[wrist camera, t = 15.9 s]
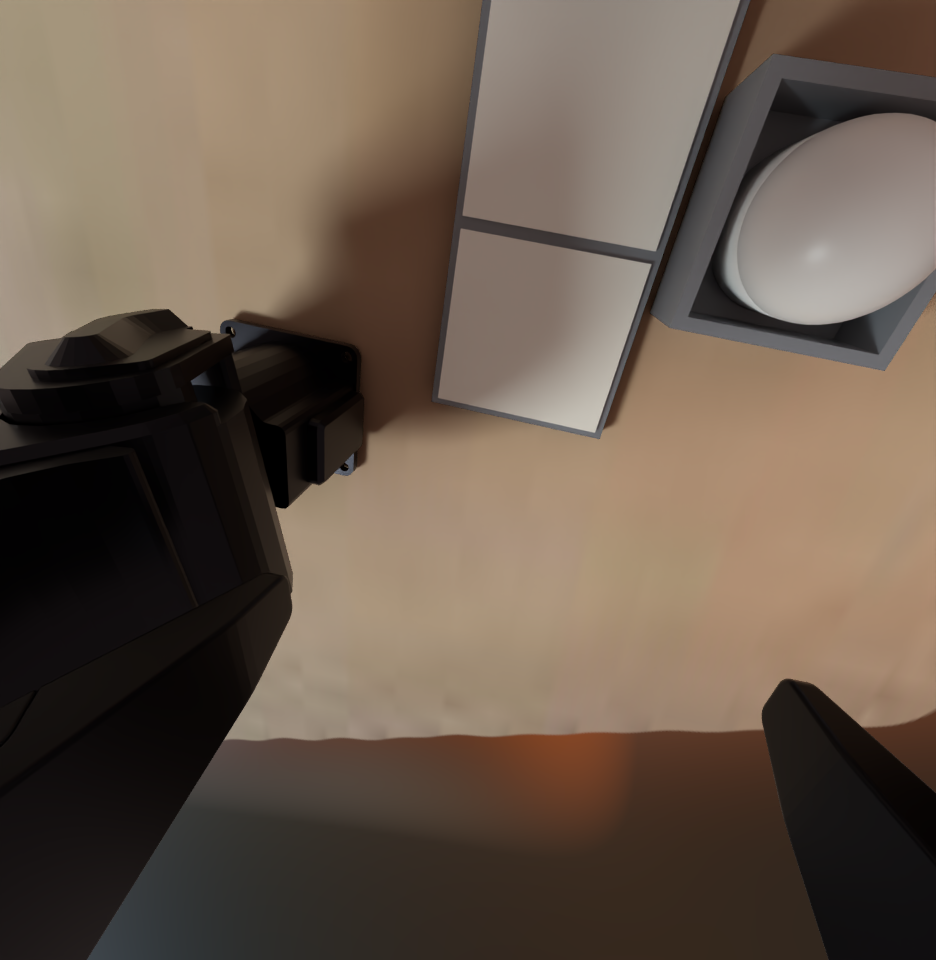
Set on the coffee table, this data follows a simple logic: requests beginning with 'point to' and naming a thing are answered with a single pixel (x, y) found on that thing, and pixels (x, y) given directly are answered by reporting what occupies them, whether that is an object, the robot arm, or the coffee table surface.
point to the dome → (834, 222)
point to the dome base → (734, 153)
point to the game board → (571, 196)
